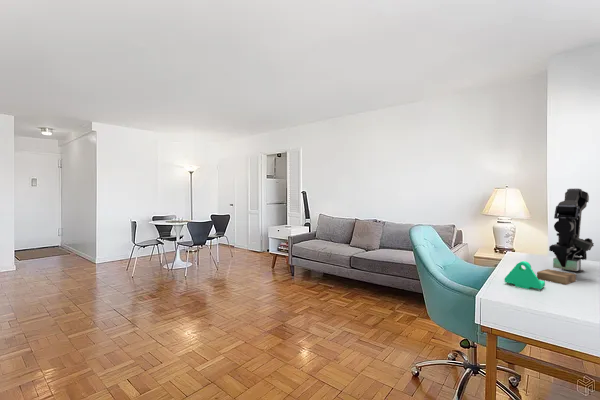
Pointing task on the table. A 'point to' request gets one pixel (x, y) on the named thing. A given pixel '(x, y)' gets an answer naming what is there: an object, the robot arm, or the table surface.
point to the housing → (567, 264)
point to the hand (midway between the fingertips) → (566, 266)
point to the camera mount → (524, 277)
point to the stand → (556, 276)
